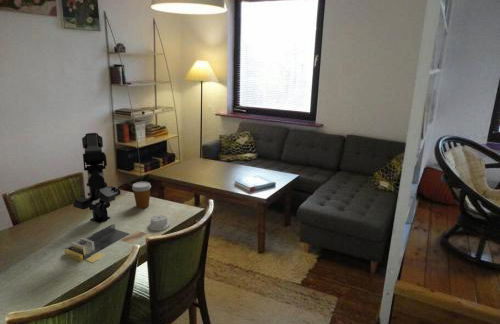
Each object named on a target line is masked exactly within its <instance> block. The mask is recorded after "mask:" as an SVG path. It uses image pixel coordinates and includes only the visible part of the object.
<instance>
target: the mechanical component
mask: <svg viewBox="0 0 500 324" xmlns="http://www.w3.org/2000/svg"><path fill="white" fill-rule="evenodd" d="M147 227H148V229H149V230H151V231H156V232H159V231H164V230H167V229H169V228H170V227H171V222H170V220H169V219H168V217H167V216H166V215H164V214H158V215H157V214H155V215H154V216H152V217H150V221H149V222H148V225H147Z"/></svg>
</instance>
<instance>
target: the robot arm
mask: <svg viewBox="0 0 500 324" xmlns="http://www.w3.org/2000/svg"><path fill="white" fill-rule="evenodd" d="M81 142H82V143H81V144H82V148H83V149H84V153H82V159H83V171H87V183H86V187H88V188H89V189H88V191H89V192H87V196H88V198H87V197H83V196H82V197H78V198H76V199H74V200H73V202H72V203H73V207H74V208H76V209H79V210H87V209H89V211H92V217H91V218H90V221H92V222H94V223H98V224H100V223H103V222H105V221H107V220H110V219H111V216H109V214H108V210H107V208H109V207H111V202H112V201H113V202H114V201H115V200H116V198H117V196H118V197H119V196H120V195H121V193H122V192H121V189H120V188H119V187H118V186H112V185H111V186H108V183H107V181H106V182H105V175H104V170H106V169H107V168H106V167H107V166H108V163H107V156H106V155H107V154H106V153H105V152H104V151H103V149H102V148H104V140H103V136H100V135H99V133H98V132H87V133H85V136H83V137H81Z"/></svg>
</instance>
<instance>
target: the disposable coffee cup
mask: <svg viewBox="0 0 500 324" xmlns="http://www.w3.org/2000/svg"><path fill="white" fill-rule="evenodd" d="M151 188H152V185H151V182H148V181H137V182H135V183H133V184H132V187H131V189H132V191H133V196H134V201H135V205H136V208H138V209H146V208H148V207H149V206H150V198H151Z"/></svg>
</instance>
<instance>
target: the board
mask: <svg viewBox="0 0 500 324" xmlns="http://www.w3.org/2000/svg"><path fill="white" fill-rule="evenodd" d="M147 235H148V233H147V232H144V231H140V230H136V231H134V232H132V233H129V235H127V236H126V237H124V238H122V239H120V241H121V242H124V243H129V244H132V243H135V242H137V241H138V240H139V239H142V238H143V237H144V236H147Z"/></svg>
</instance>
